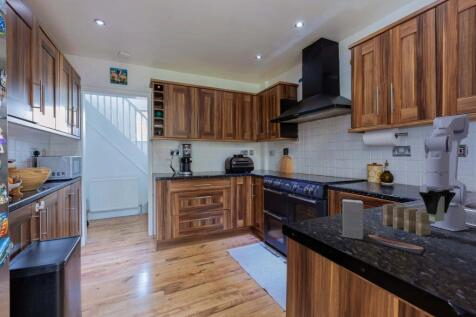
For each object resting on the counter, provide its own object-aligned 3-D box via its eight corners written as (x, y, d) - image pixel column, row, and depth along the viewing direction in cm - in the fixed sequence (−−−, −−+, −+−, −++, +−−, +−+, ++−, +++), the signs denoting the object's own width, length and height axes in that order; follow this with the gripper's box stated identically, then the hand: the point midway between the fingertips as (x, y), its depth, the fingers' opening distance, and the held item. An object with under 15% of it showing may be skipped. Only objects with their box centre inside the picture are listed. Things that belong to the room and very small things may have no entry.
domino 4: (415, 234, 77) (416, 211, 77) (425, 232, 79) (425, 210, 79) (420, 235, 76) (421, 212, 76) (430, 234, 78) (430, 211, 78)
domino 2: (392, 227, 85) (393, 206, 85) (401, 226, 87) (402, 205, 87) (397, 228, 83) (397, 207, 83) (406, 227, 85) (406, 206, 85)
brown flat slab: (369, 234, 76) (425, 247, 65) (369, 236, 76) (425, 250, 64) (360, 238, 71) (420, 254, 60) (360, 241, 71) (420, 257, 60)
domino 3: (403, 230, 81) (404, 208, 81) (412, 229, 83) (413, 208, 83) (408, 232, 80) (408, 209, 80) (417, 230, 81) (417, 209, 81)
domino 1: (382, 224, 89) (383, 204, 89) (391, 223, 90) (391, 203, 90) (386, 225, 87) (387, 205, 87) (395, 224, 89) (395, 204, 89)
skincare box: (362, 236, 75) (362, 200, 75) (363, 240, 71) (363, 202, 71) (342, 233, 77) (342, 198, 77) (342, 237, 73) (342, 201, 73)
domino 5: (444, 220, 74) (444, 196, 74) (434, 221, 72) (435, 197, 72) (438, 219, 75) (438, 195, 75) (429, 220, 74) (429, 196, 74)
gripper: (436, 171, 80) (436, 209, 80) (409, 171, 75) (409, 211, 75) (462, 172, 73) (461, 213, 73) (434, 173, 68) (433, 217, 68)
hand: (436, 213), depth 74 cm, fingers closed on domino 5, 5 cm apart
